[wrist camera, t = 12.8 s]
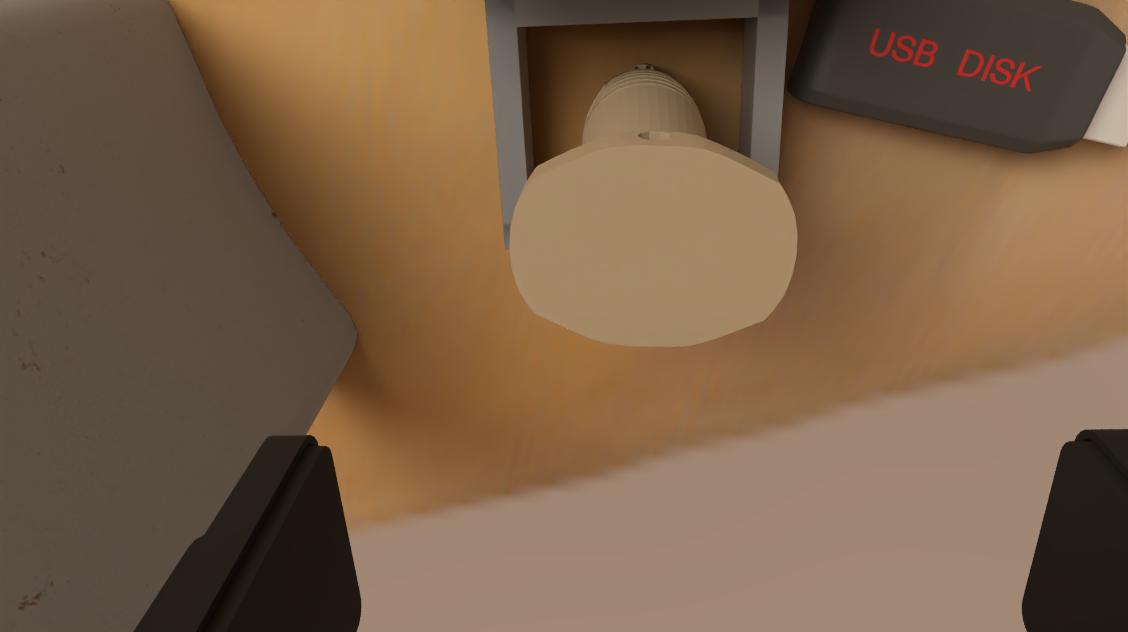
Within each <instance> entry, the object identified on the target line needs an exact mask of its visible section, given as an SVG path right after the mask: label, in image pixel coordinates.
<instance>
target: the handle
mask: <svg viewBox="0 0 1128 632" xmlns="http://www.w3.org/2000/svg"><path fill="white" fill-rule="evenodd" d="M509 250H510V259H511V267H512V272H513V275H514V278H515V282H516V285H517V288H518V290H519V291H520V293H521V295H522V297H523V299H524V301H525V302H526V303H527V305H528V306H529V307H530V309H531V310H532V311H533V313H534V314H536V315H538V316H540V317H543V318H545V319H547V320H549V321H551V322H553V323H555V324H557V325H560V326H562V327H564V328H566V329H568V330H571V331H573V332H575V333H577V334H580V335H582V336H584V337H587V338H590V339H593V340H596V341H599V342H602V343H606V344H615V345H623V346H646V347H680V346H691V345H695V344H699V343H703V342H707V341H711V340H713V339H716V338H719V337H722V336H725V335H727V334H730V333H733V332H735V331H738V330H741V329H743V328H746V327H748V326H751V325H753V324H756V323H759V322H761V321H764V320H765V319H766V318H767V317H768V316H769V315H770V313H771V312H772V311H773V310H774V309H775V308H776V306H777V305H778V303H779V302H780V300H781V299H782V298H783V296H784V295H785V292H786V290H787V287H788V285H789V282H790V280H791V277H792V274H793V270H794V265H795V260H796V256H797V227H796V219H795V213H794V211H793V208H792V206H791V203H790V201H789V198H788V196H787V194H786V193H785V191H784V189H783V187H782V186H781V184H780V182H779V180H778V179H777V177H776V175H775V174H774V172H773V171H772V170H770V169H768V168H766V167H765V166H763V165H761V164H759V163H757V162H756V161H754V160H752V159H750V158H748V157H746V156H744V155H742V154H740V153H738V152H736V151H734V150H732V149H729V148H727V147H725V146H723V145H721V144H718V143H716V142H713V141H711V140H708V139H707V137H706V131H705V126H704V123H703V120H702V117H701V114H700V112H699V109H698V107H697V105H696V104H695V102H694V100H693V99H692V97H691V96H690V95H689V93H688V92H687V91H686V89H685V88H684V87H683V86H682V85H681V84H680V83H678V82H677V81H676V80H675V79H674V78H672V77H671V76H669V75H667V74H665V73H663V72H660V71H657V70H655V69H654V67H653V66H652V65H650V64H645V63H641V64H636V65H634V66H633V67H632V69H631V70H629V71H626V72H624V73H621V74H620V75H618V76H616V77H615V78H613V79H612V80H610V81H608V82H606V83H605V84H604V85H603V87H602V88H601V90H600V92H599V93H598V95H597V96H596V98H595V99H594V101H593V103H592V105H591V107H590V109H589V112H588V114H587V117H586V121H585V125H584V130H583V137H582V145H581V146H578V147H576V148H573V149H571V150H569V151H567V152H565V153H562V154H560V155H558V156H556V157H554V158H552V159H550V160H548V161H546V162H544V163H542V164H540V165H538V166H537V167H536V168H535V170H534V171H533V173H532V174H531V176H530V177H529V179H528V180H527V182H526V184H525V186H524V188H523V190H522V192H521V194H520V196H519V198H518V201H517V204H516V206H515V210H514V214H513V219H512V223H511V227H510V245H509Z"/></svg>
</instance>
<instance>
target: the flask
mask: <svg viewBox="0 0 1128 632" xmlns="http://www.w3.org/2000/svg"><path fill="white" fill-rule="evenodd" d="M357 335H358V333H357V331H356V328H355V326H354V323H353V321H352V319H351V316H350V315H349V314H348V312H347V311H346V310H345V309H344V307H343V306H342V305H341V303H340V302H339V301H338V300H337V298H336V297H335V296H334V294H333V293H332V292H331V290H330V289H329V288H328V287H327V285H326V284H325V283H324V281H323V280H322V279H321V278H320V276H319V275H318V274H317V272H316V271H315V270H314V269H313V267H312V266H311V265H310V263H309V262H308V261H307V259H306V258H305V257H304V256H303V254H302V253H301V252H300V250H299V249H298V248H297V247H296V245H295V244H294V243H293V241H292V240H291V238H290V237H289V235H288V234H287V232H286V230H285V229H284V227H283V226H282V224H281V223H280V221H279V220H278V218H277V216H276V215H275V213H274V212H273V210H272V209H271V207H270V206H269V204H268V203H267V201H266V199H265V198H264V196H263V195H262V193H261V192H260V190H259V189H258V187H257V185H256V184H255V182H254V181H253V179H252V177H251V175H250V173H249V171H248V170H247V168H246V166H245V164H244V162H243V160H242V158H241V156H240V155H239V153H238V151H237V149H236V147H235V145H234V143H233V141H232V140H231V138H230V136H229V134H228V132H227V130H226V128H225V126H224V125H223V123H222V121H221V119H220V117H219V115H218V113H217V111H216V109H215V106H214V104H213V102H212V99H211V97H210V95H209V92H208V90H207V88H206V85H205V83H204V81H203V78H202V76H201V74H200V71H199V69H198V67H197V65H196V62H195V60H194V58H193V55H192V53H191V51H190V48H189V46H188V44H187V41H186V39H185V37H184V34H183V32H182V30H181V27H180V25H179V23H178V20H177V18H176V16H175V13H174V11H173V9H172V7H171V6H170V4H169V3H168V2H167V0H0V632H133V631H134V630H135V628H136V627H137V625H138V624H139V622H140V621H141V619H142V618H143V616H144V615H145V613H146V611H147V610H148V608H149V607H150V605H151V604H152V602H153V601H154V599H155V598H156V596H157V595H158V593H159V591H160V590H161V588H162V587H163V585H164V584H165V582H166V581H167V579H168V578H169V576H170V575H171V573H172V571H173V570H174V568H175V567H176V565H177V564H178V562H179V561H180V559H181V558H182V556H183V555H184V553H185V551H186V550H187V548H188V547H189V546H190V545H191V544H192V543H193V541H194V540H195V539H197V538H199V537H201V536H203V535H204V534H205V533H206V531H207V530H208V528H209V526H210V525H211V523H212V522H213V520H214V519H215V517H216V515H217V514H218V512H219V511H220V509H221V508H222V506H223V504H224V503H225V501H226V500H227V498H228V497H229V495H230V494H231V492H232V490H233V489H234V487H235V486H236V484H237V483H238V481H239V479H240V478H241V476H242V475H243V473H244V472H245V470H246V468H247V467H248V465H249V464H250V462H251V461H252V459H253V457H254V456H255V454H256V453H257V451H258V450H259V448H260V447H261V445H262V443H263V442H264V441H265V439H266V438H267V437H269V436H280V435H306V434H307V432H308V431H309V429H310V427H311V425H312V423H313V422H314V420H315V418H316V416H317V415H318V413H319V411H320V409H321V408H322V406H323V404H324V402H325V400H326V399H327V397H328V395H329V393H330V392H331V390H332V388H333V386H334V384H335V383H336V381H337V379H338V377H339V376H340V374H341V372H342V370H343V368H344V367H345V365H346V363H347V361H348V360H349V358H350V356H351V354H352V353H353V351H354V347H355V343H356V339H357Z"/></svg>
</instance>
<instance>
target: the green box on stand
mask: <svg viewBox="0 0 1128 632" xmlns="http://www.w3.org/2000/svg"><path fill="white" fill-rule="evenodd" d="M789 4H790V0H485V9H486V21H487V33H488V46H489V58H490V70H491V82H492V94H493V107H494V119H495V131H496V143H497V155H498V167H499V180H500V192H501V204H502V216H503V228H504V241H505V249H509V245H510V227H511V223H512V219H513V214H514V210H515V206H516V204H517V201H518V198H519V196H520V194H521V192H522V190H523V188H524V186H525V184H526V182H527V180H528V179H529V177H530V176H531V174H532V173H533V171H534V170H535V169H534V153H533V137H532V121H531V105H530V89H529V73H528V57H527V42H526V27H530V26H554V25H579V24H603V23H627V22H652V21H676V20H700V19H725V18H745V25H744V47H743V69H742V91H741V114H740V136H739V153H740V154H742V155H744V156H746V157H748V158H750V159H752V160H754V161H756V162H757V163H759V164H761V165H763V166H765V167H766V168H768V169H770V170H772V171H773V172H774V174H775V175H776V177H777V179H778V169H779V154H780V139H781V124H782V109H783V94H784V79H785V64H786V49H787V34H788V19H789Z"/></svg>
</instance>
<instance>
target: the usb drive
mask: <svg viewBox="0 0 1128 632" xmlns="http://www.w3.org/2000/svg"><path fill="white" fill-rule="evenodd" d="M787 91H788V92H789V93H790V94H791V95H792V96H794V97H795V98H797V99H799V100H801V101H803V102H806V103H809V104H813V105H817V106H821V107H825V108H829V109H834V110H838V111H842V112H847V113H851V114H856V115H860V116H864V117H869V118H873V119H877V120H882V121H886V122H891V123H895V124H899V125H904V126H908V127H913V128H917V129H921V130H926V131H930V132H934V133H939V134H943V135H948V136H952V137H956V138H961V139H965V140H970V141H974V142H978V143H983V144H987V145H991V146H996V147H1000V148H1005V149H1009V150H1013V151H1018V152H1023V153H1037V152H1043V151H1049V150H1055V149H1061V148H1066V147H1071V146H1072V145H1074V144H1075V143H1076V142H1078V141H1079V140H1081V139H1082V138H1083V139H1087V140H1091V141H1096V142H1100V143H1104V144H1109V145H1113V146H1118V147H1122V148H1124V147H1125V146H1126V145H1127V143H1128V44H1126V37H1125V34H1124V33H1123V32H1122V31H1121V30H1120V29H1119V28H1118V27H1117V26H1116V25H1114V24H1113V23H1112V22H1111V21H1110V20H1109V19H1108V18H1107V17H1106V16H1105V15H1104V14H1103V13H1102V12H1101V11H1100V10H1099V9H1097V8H1095V7H1093V6H1090V5H1086V4H1083V3H1079V2H1075V1H1072V0H816V2H815V5H814V8H813V11H812V14H811V17H810V20H809V23H808V26H807V29H806V32H805V35H804V38H803V42H802V45H801V48H800V51H799V54H798V57H797V60H796V63H795V66H794V69H793V72H792V75H791V78H790V81H789V84H788V87H787Z"/></svg>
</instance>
